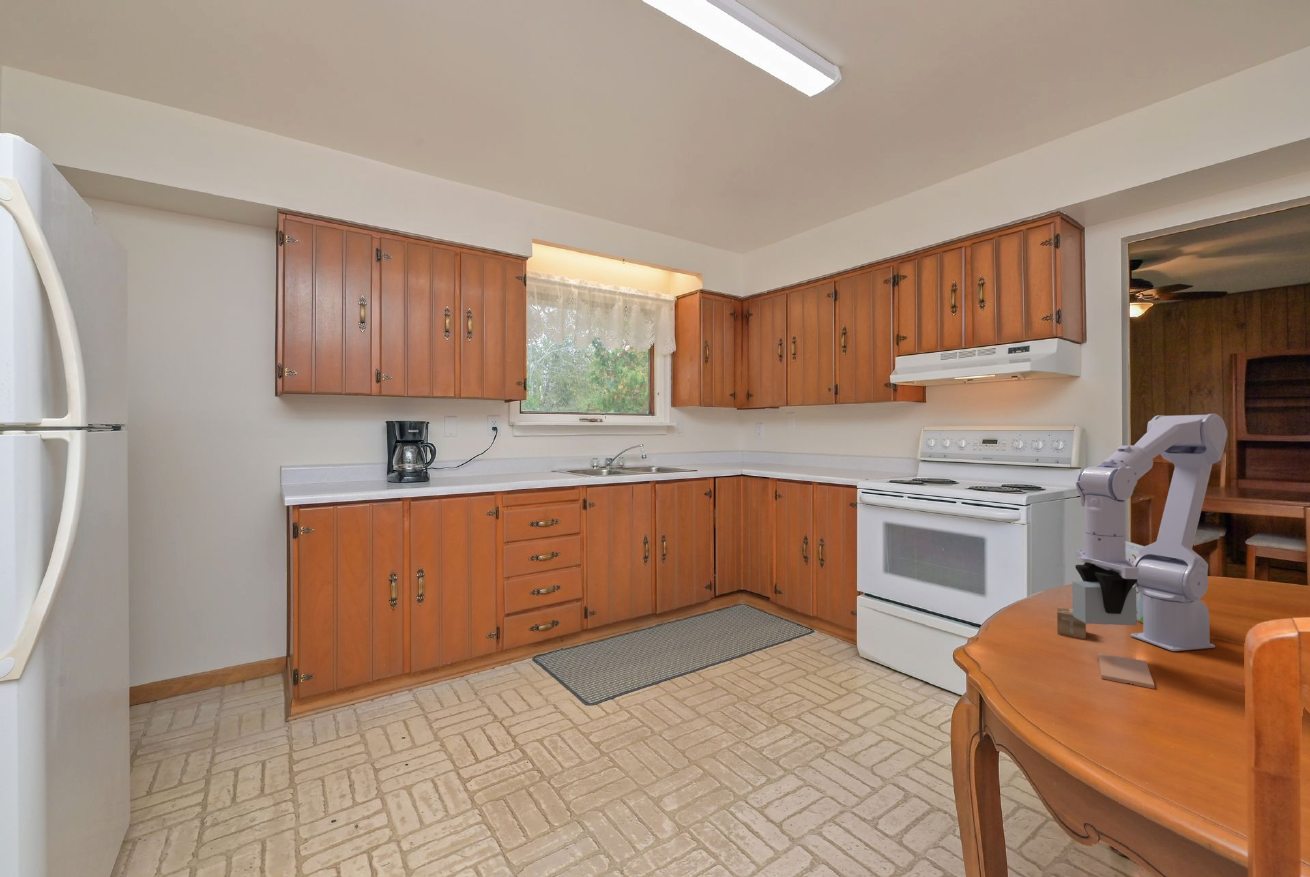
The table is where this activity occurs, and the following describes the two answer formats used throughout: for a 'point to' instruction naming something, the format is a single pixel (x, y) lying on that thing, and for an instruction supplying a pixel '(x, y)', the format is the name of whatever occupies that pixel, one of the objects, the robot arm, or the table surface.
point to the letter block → (1069, 623)
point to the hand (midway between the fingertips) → (1105, 608)
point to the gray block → (1100, 605)
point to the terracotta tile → (1125, 670)
